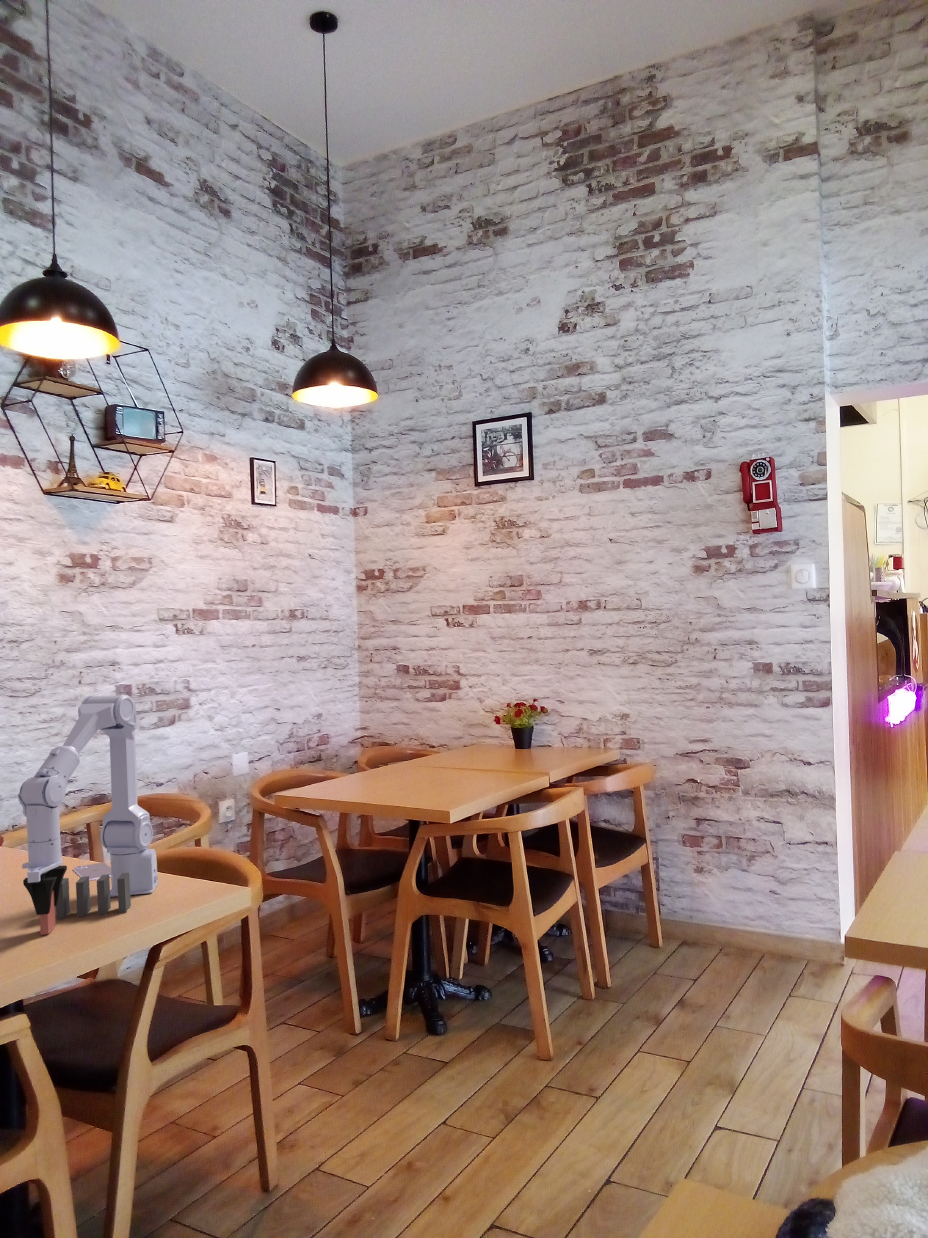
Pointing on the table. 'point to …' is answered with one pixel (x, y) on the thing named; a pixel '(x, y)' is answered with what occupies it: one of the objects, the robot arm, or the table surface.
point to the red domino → (48, 919)
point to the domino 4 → (124, 892)
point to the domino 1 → (63, 900)
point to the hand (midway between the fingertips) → (47, 910)
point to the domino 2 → (83, 896)
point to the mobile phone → (93, 870)
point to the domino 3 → (103, 894)
